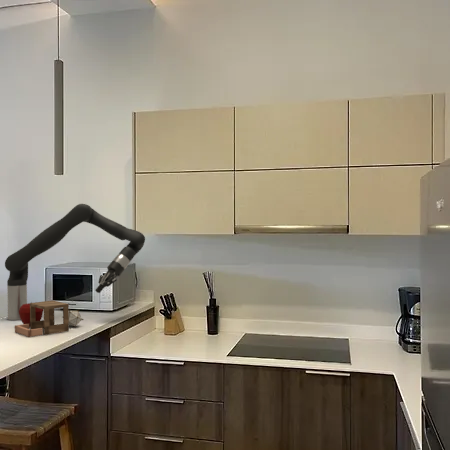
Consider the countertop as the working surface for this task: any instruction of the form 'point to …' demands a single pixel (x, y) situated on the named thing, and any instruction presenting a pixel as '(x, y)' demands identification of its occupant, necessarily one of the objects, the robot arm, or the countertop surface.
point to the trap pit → (28, 331)
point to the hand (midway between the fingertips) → (97, 291)
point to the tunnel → (49, 317)
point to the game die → (74, 318)
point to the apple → (25, 313)
